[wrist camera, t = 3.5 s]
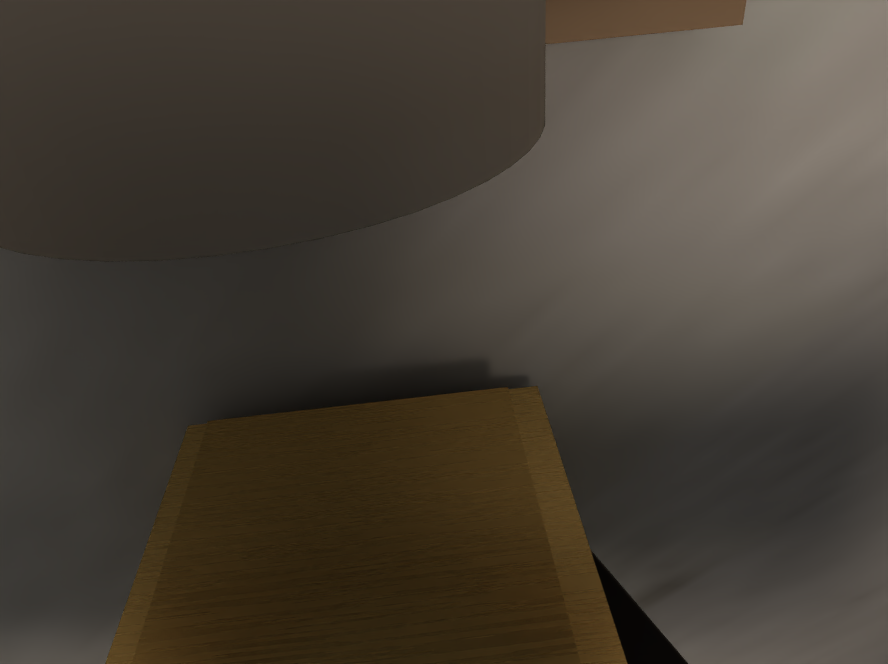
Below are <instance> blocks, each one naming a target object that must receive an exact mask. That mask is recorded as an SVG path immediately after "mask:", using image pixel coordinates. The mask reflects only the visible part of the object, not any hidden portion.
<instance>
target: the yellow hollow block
mask: <svg viewBox="0 0 888 664" xmlns="http://www.w3.org/2000/svg"><path fill="white" fill-rule="evenodd" d="M105 664H627V661H626V658H625V655H624V652H623V649H622V646H621V642H620V639H619V636H618V633H617V630H616V627H615V624H614V621H613V618H612V615H611V612H610V609H609V605H608V602H607V599H606V596H605V593H604V590H603V587H602V584H601V581H600V578H599V575H598V572H597V568H596V565H595V562H594V559H593V556H592V553H591V550H590V547H589V544H588V541H587V538H586V535H585V531H584V528H583V525H582V522H581V519H580V516H579V513H578V510H577V507H576V504H575V501H574V498H573V494H572V491H571V488H570V485H569V482H568V479H567V476H566V473H565V470H564V467H563V464H562V461H561V457H560V454H559V451H558V448H557V445H556V442H555V439H554V436H553V433H552V430H551V427H550V424H549V420H548V417H547V414H546V411H545V408H544V405H543V402H542V399H541V396H540V393H539V390H538V387H537V386H533V387H524V388H515V389H508V387H504V388H495V389H486V390H477V391H468V392H460V393H451V394H442V395H433V396H425V397H416V398H407V399H398V400H389V401H381V402H372V403H363V404H354V405H345V406H337V407H328V408H319V409H310V410H301V411H293V412H284V413H275V414H266V415H257V416H249V417H240V418H231V419H222V420H213V421H208V422H207V424H199V425H190V426H188V428H187V431H186V433H185V436H184V439H183V442H182V445H181V448H180V451H179V454H178V456H177V459H176V462H175V465H174V468H173V471H172V474H171V477H170V479H169V482H168V485H167V488H166V491H165V494H164V497H163V499H162V502H161V505H160V508H159V511H158V514H157V517H156V520H155V522H154V525H153V528H152V531H151V534H150V537H149V540H148V543H147V545H146V548H145V551H144V554H143V557H142V560H141V563H140V566H139V568H138V571H137V574H136V577H135V580H134V583H133V586H132V588H131V591H130V594H129V597H128V600H127V603H126V606H125V609H124V611H123V614H122V617H121V620H120V623H119V626H118V629H117V632H116V634H115V637H114V640H113V643H112V646H111V649H110V652H109V654H108V657H107V660H106V663H105Z"/></svg>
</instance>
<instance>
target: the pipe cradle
mask: <svg viewBox="0 0 888 664" xmlns="http://www.w3.org/2000/svg"><path fill="white" fill-rule="evenodd" d="M745 6H746V0H0V247H1V248H5V249H8V250H12V251H16V252H20V253H23V254H30V255H37V256H44V257H51V258H58V259H71V260H89V261H158V260H170V259H183V258H196V257H209V256H217V255H224V254H232V253H239V252H247V251H254V250H261V249H268V248H273V247H278V246H284V245H289V244H294V243H299V242H305V241H310V240H315V239H320V238H324V237H328V236H332V235H336V234H340V233H344V232H349V231H353V230H357V229H361V228H365V227H369V226H372V225H375V224H379V223H382V222H385V221H388V220H391V219H395V218H398V217H401V216H404V215H407V214H411V213H414V212H417V211H419V210H422V209H425V208H427V207H430V206H432V205H435V204H437V203H440V202H443V201H445V200H448V199H450V198H453V197H455V196H457V195H459V194H462V193H464V192H466V191H468V190H470V189H472V188H474V187H476V186H478V185H480V184H482V183H484V182H486V181H488V180H490V179H491V178H493V177H494V176H496V175H498V174H499V173H501V172H503V171H504V170H506V169H507V168H509V167H511V166H512V165H513V164H514V163H516V162H517V161H518V160H519V159H520V158H522V157H523V156H524V155H525V154H526V153H528V152H529V151H530V149H531V148H532V147H533V146H534V144H535V143H536V142H537V141H538V139H539V138H540V136H541V134H542V131H543V128H544V126H545V44H552V43H562V42H572V41H582V40H593V39H603V38H613V37H623V36H633V35H643V34H653V33H663V32H673V31H683V30H693V29H703V28H713V27H724V26H734V25H743V19H744V12H745Z"/></svg>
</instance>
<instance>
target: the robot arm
mask: <svg viewBox="0 0 888 664" xmlns="http://www.w3.org/2000/svg"><path fill="white" fill-rule="evenodd" d="M591 553H592V556H593V559H594V562H595V565H596V568H597V572H598V575H599V578H600V581H601V584H602V587H603V590H604V593H605V596H606V599H607V602H608V605H609V609H610V612H611V615H612V618H613V621H614V624H615V627H616V630H617V633H618V636H619V639H620V642H621V646H622V649H623V652H624V655H625V658H626V661H627V664H688V663H687V662H686V660H685V659H684V658H683V657H682V656H681V655H680V653H679V652H678V651H677V650H676V649H675V648H674V646H673V645H672V644H671V643H670V642H669V641H668V639H667V638H666V637H665V636H664V635H663V634H662V632H661V631H660V630H659V629H658V628H657V627H656V625H655V624H654V623H653V622H652V621H651V620H650V618H649V617H648V616H647V615H646V614H645V613H644V611H643V610H642V609H641V608H640V607H639V606H638V604H637V603H636V602H635V601H634V600H633V599H632V597H631V596H630V595H629V594H628V593H627V592H626V590H625V589H624V588H623V587H622V586H621V585H620V583H619V582H618V581H617V580H616V579H615V578H614V576H613V575H612V574H611V573H610V572H609V571H608V569H607V568H606V567H605V566H604V565H603V564H602V563H601V561H600V560H599V559H598V558H597V557H596V556H595V554H594V553H593V552H592V551H591Z"/></svg>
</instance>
